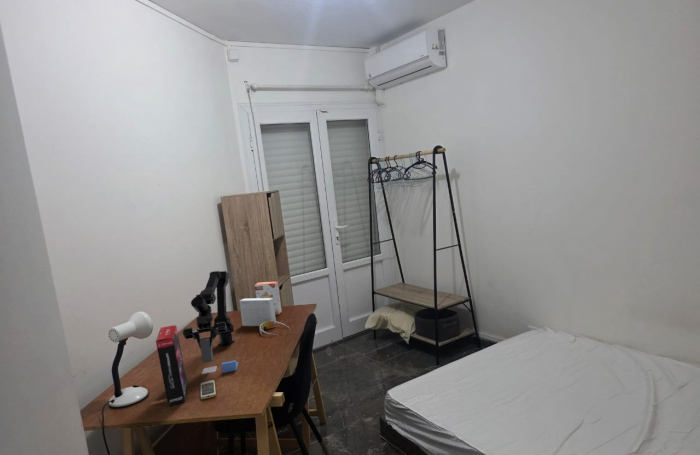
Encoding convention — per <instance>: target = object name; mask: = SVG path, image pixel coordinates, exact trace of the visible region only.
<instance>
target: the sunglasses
mask: <svg viewBox="0 0 700 455" xmlns="http://www.w3.org/2000/svg"><path fill="white" fill-rule="evenodd" d="M275 323H276V324H278V325H280V324H281V325H283V326H285V327H286V328H287V329H288V328H289V329H290V327H289V326H288V325H287V324H286V323H282V322H279V321H277V320H276V321H265V322H263V323H262V324H261V325H260V326H259V333H260V335H263V334H262V333H264V334H267V335H272V336H275V337H278V336H279V335H277V334H275V333H271V332H267V331H266V330H268V329H272V328H275V327H276V324H275ZM265 329H266V330H265Z"/></svg>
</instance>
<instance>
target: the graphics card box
mask: <svg viewBox="0 0 700 455" xmlns="http://www.w3.org/2000/svg"><path fill="white" fill-rule="evenodd" d="M155 343H156V344H155V345H156V348H157V354H158V361H159V364H160V369H161V376H162V380H163V384H164V389H165V395H166V401H167V405H168V406H169V407H170V406H173V405H178V404H181V403H184V402H186V396H187V387H188V386H187V384H188V380H187V375H186V370H185V364H184V359H183V353H182V348H181V343H180V338H179V332H178V327H177V325H176V324H175V325H174V324H173V325H168V326H163V327H160V329H159V332H158V335H157V338H156V340H155Z"/></svg>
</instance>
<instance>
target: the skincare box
mask: <svg viewBox="0 0 700 455" xmlns="http://www.w3.org/2000/svg"><path fill="white" fill-rule="evenodd" d="M238 302H239V307H240V308H239V309H240V316H241V324H242V327H260V325H261V324H262V323H263V322H265V321H276V322H277V318H276V315H275V309H274V301H273V298H256V297H254V298H253V297H252V298H242V299H240V300H239V301H238ZM276 324H277V323H275V325H276Z"/></svg>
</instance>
